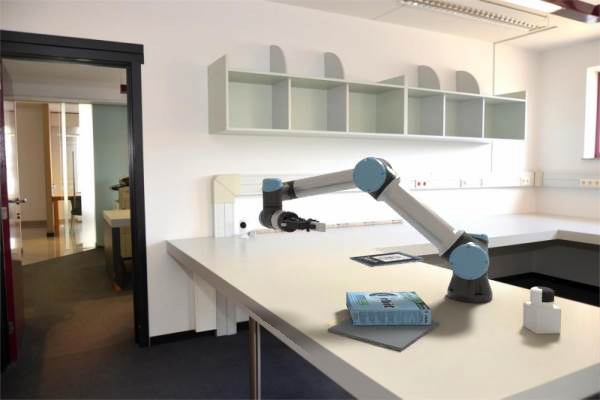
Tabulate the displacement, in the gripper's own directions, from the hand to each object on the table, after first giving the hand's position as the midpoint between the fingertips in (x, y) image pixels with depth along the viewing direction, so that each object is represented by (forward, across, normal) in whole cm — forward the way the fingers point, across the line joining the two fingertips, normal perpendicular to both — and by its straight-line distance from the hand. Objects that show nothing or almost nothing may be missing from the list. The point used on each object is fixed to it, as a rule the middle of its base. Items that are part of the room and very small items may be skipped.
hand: (323, 227), depth 145 cm
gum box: (+9, -2, -24) cm, 26 cm away
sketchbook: (-48, -73, -28) cm, 92 cm away
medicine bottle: (+48, -41, -28) cm, 69 cm away
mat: (+22, -5, -28) cm, 36 cm away
